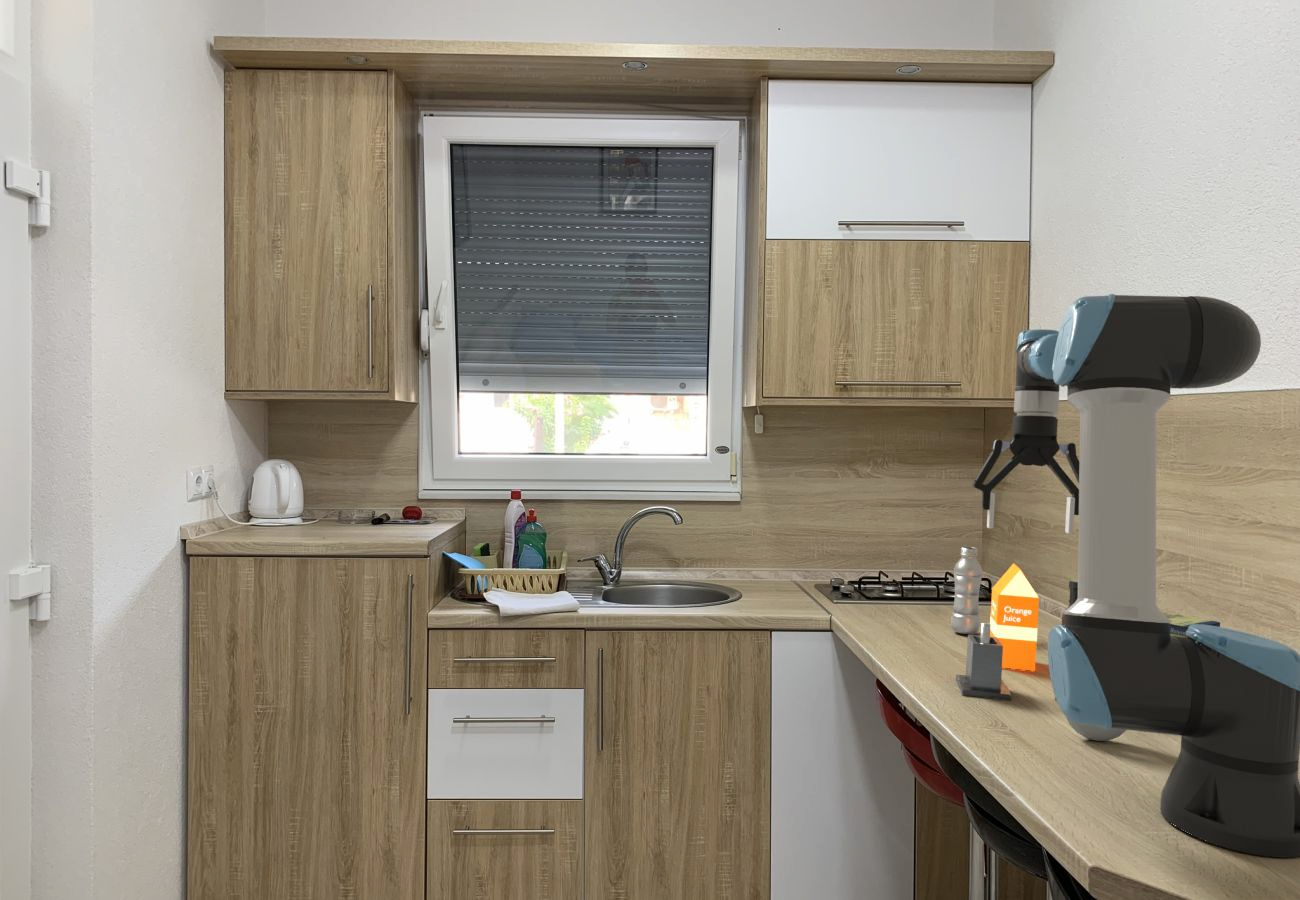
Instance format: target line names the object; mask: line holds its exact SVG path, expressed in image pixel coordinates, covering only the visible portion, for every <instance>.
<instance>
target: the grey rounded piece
mask: <svg viewBox="0 0 1300 900" xmlns="http://www.w3.org/2000/svg"><path fill="white" fill-rule="evenodd" d="M1065 718H1066V720H1067V722H1068V724H1069V726H1071V728H1072V729H1073V730H1074V731H1075V733H1077V734H1078V735H1081V736H1082V737H1084V738H1086V739H1088V740H1093V741H1096V742H1105V741H1107V742H1108V741H1111V740H1114V739H1116V738H1119V737H1120V736H1121V735H1123V734H1124V733H1125V732H1126V731H1127V730H1125V729H1116V728H1110V729H1103V728H1101V727H1098V726H1091V725H1085V724H1079V723H1075V722H1073V721H1071V720H1070V719H1068V718H1067V717H1066V716H1065Z"/></svg>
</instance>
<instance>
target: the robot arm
mask: <svg viewBox="0 0 1300 900" xmlns="http://www.w3.org/2000/svg"><path fill="white" fill-rule="evenodd" d="M1017 339H1018V340H1017V347H1016V348H1015V352H1016V364H1015V365H1016V367H1015V369H1016V370H1015V386H1014V387H1015V388H1014V400H1013V401H1014V402H1013V403H1014V404H1013V412H1014V414H1016V415H1015V416H1014V417H1013V418H1012V436H1011V439H1010V441H1003V440H1002V439H995V440H994V441H993V443H992V444H993V445H992V451H991V452H990V453H989V456H988V458H987V459H986V461H985V462H984V463H983V465H982V467H981V469H980V471H979V472H978V474H977V476H976V477H975V478H974V480H973V482H972V487H973V488H975V489H977V490H979V491H981V493H982V498H981V508H982V510H983V511H985V510H986V511H987V514H986V515H987V517H986V518H987V520H986V528H988V529H990V530H991V529H994V524H995V523H994V522H995V521H994V520H995V505H996V504H995V502H996V493H995V492H992V490H994V489H995V488H996V486H998V485H999V484H1000V483H1001V481H1003V479H1005V478H1006V477H1007V476H1008V475H1009V474H1010V472H1012V471H1013V470H1014V469H1015V468H1016V467H1017V466H1018V465H1019V464H1021V465H1022V466H1027V467H1029V466H1036V467H1044V466H1047V467H1048V468H1049V469H1050V470H1051V471H1052V473H1053V474H1054V475H1055V476H1056V477H1057V479H1058V480H1059V481H1060V483H1061V484H1062V485H1063V486H1064V487H1065V488H1066V490H1067V491H1068V493H1070V495H1071V496H1066V509H1065V523H1064V524H1065V526H1064V530H1065V531H1064V533H1066V534H1068V535H1069V534H1072V535H1073V534H1074V525H1075V523H1074V522H1075V516H1078V546H1077V547H1078V550H1077V554H1078V555H1077V580H1078V599H1077V600H1076V602H1075V603H1074V604H1073V605H1071V606H1070V607H1069V608H1068V607H1067V608H1068V609H1067V608H1066V609H1067V610H1066V609H1065V610H1064V612H1063V613H1064V625H1062V624H1058V625H1057V626H1053V627H1052V628H1050V630H1049V632H1048V643H1047V660H1048V661H1047V662H1048V670H1049V675H1050V682H1051V685H1052V690H1053V693H1054V698H1055V697H1056V700H1057V701H1056V702H1057V704H1058V707H1059V709H1060V710H1061V712H1062V713H1063V715H1064V716H1065V718H1066V717H1067V718H1068V719H1070V720H1071V721H1073V722H1075V723H1079V724H1085V725H1091V726H1098V727H1101V728H1103V729H1110V728H1116V729H1125V730H1126V731H1127V730H1128V731H1137V732H1145V733H1146V732H1147V733H1155V734H1163V735H1164V734H1165V735H1172V736H1173V735H1174V736H1180V737H1181V738H1180V739H1181V741H1180V751H1179V755H1178V757H1177V758H1176V761H1175V762H1174V765H1173V767H1172V768H1171V771H1170V773H1169V775H1168V777H1167V780H1166V782H1165V784H1164V786H1163V788H1162V790H1161V793H1160V807H1159V811H1160V810H1161V812H1160V814H1161V813H1162V814H1161V816H1162V815H1163V816H1164V817H1165V818H1166V819H1167V820H1168V821H1169V822H1171V823H1172V824H1174V825H1176V827H1178V828H1180V829H1182V830H1184V831H1186V832H1188V833H1190V834H1192V835H1194V836H1196V837H1198V838H1201V839H1203V840H1206V841H1208V842H1207V843H1209V842H1211V843H1210V844H1212V843H1213V844H1212V845H1215V844H1217V845H1216V846H1218V845H1219V846H1218V847H1221V846H1223V847H1222V848H1224V847H1225V849H1228V850H1233V851H1235V852H1240V851H1241V852H1242V853H1245V854H1250V855H1254V856H1262V855H1263V857H1271V856H1272V857H1271V858H1295V857H1300V778H1299V764H1300V763H1299V759H1300V654H1299V653H1298V652H1297V651H1296V650H1294V649H1293V648H1292V647H1289V646H1288V645H1286V644H1283V643H1280V642H1278V641H1275V640H1273V639H1272V640H1271V639H1269V638H1265V637H1264V636H1263V637H1262V636H1259V635H1255V634H1251V633H1248V632H1243V631H1239V630H1235V629H1230V628H1225V627H1222V626H1220V627H1217V626H1211V625H1204V624H1192V625H1190V626H1189V627H1188V630H1187V631H1186V635H1187V637H1176V636H1171V627H1170V620H1169V619H1168V618H1167V617H1166V616H1165V615H1164V614H1163V613H1162V612H1161V611H1162V610H1161V609H1160V608H1159V607H1158V606H1157V413H1158V411H1159V410H1160V409H1161V408H1162V407H1163V406H1164V405H1166V404H1167V403H1168V402H1169V401H1170V400H1171V389H1181V390H1182V389H1186V390H1187V389H1204V388H1211V387H1216V386H1220V385H1223V384H1226V383H1227V384H1228V383H1230V382H1232V381H1234V380H1236V379H1239V378H1240V377H1242V376H1243V375H1244V374H1245V373H1247V372H1248V371H1249V370H1250V369H1252V367H1253V366H1254V364H1255V363H1256V362H1257V360H1258V359H1257V358H1258V357H1259V354H1260V352H1261V346H1262V341H1261V340H1262V339H1261V333H1260V331H1259V328H1258V326H1257V324H1256V322H1255V320H1253V318H1252V316H1250V315H1249V314H1248V313H1247V312H1245V310H1243V309H1242V308H1240V307H1238V306H1237V305H1234V304H1232V303H1231V302H1227V301H1225V300H1222V299H1218V298H1216V297H1215V298H1214V297H1208V296H1201V295H1199V296H1198V295H1195V296H1193V295H1192V296H1191V295H1190V296H1179V295H1178V296H1176V295H1175V296H1173V295H1172V296H1171V295H1167V296H1166V295H1131V294H1129V295H1127V294H1126V295H1125V294H1124V295H1123V294H1122V295H1121V294H1114V293H1111V294H1110V293H1109V294H1107V295H1093V296H1092V295H1091V296H1087V295H1086V296H1082V297H1079V298H1078V299H1076V300H1074V301H1073V302H1071V304H1070V306H1069V307H1068V309H1067V310H1066V312H1065V314H1064V316H1063V320H1062V322H1061V325H1060V328H1059V331H1058V330H1056V329H1039V328H1038V329H1029V330H1023V331H1021V332H1020V333H1019V335H1018V338H1017ZM1060 386H1061V387H1063V388H1064V387H1067V394H1066V395H1067V397H1066V399H1067V402H1068V404H1070V405H1071V406H1072V407H1073V408H1074V409H1075V410H1076V411H1077V412H1078V413H1079V458H1078V456H1077V446H1076V444H1075V443H1073V442H1067V443H1061V444H1060V443H1058V439H1057V438H1058V427H1059V426H1058V423H1059V419H1058V418H1057V416H1056V415H1057V414H1058V413H1059V408H1060V407H1059V405H1060ZM1006 449H1009V450H1010V452H1011V453H1012V455H1013V456H1012V457H1010V458H1009V460H1008V461H1007V462H1006V463H1005V464H1004V465H1003V466H1002V467H1001V468H1000V469H999V470H998V471H997V472H996V473H994V475H993V476H992V477H991V478H990V479H989V481H987V482H986V483H985V480H986V479H987V477H988V476H989V474H990V473H991V470H992V469H993V467H994V465H995V464H996V463H997V461H998V459H999V457H1000V456H1001V453H1004V452H1006ZM1059 451H1060V452H1061V454H1062V455H1064V456H1066V459H1067V462H1068V463H1069V466H1070V468H1071V470H1072V472H1073V475H1074V476H1075V478H1076V481H1077V483H1078V487H1077V485H1076V484H1075V483H1074V481H1073V480H1072V479H1071V478H1070V477H1069V476H1068V474H1067V473H1066V472H1065V470H1064V469H1062V467H1061V466H1060V465H1059V462H1057V460H1056V459H1055V458H1054V457H1055V456H1056V454H1057V453H1058V452H1059ZM984 483H985V484H984ZM1067 718H1066V719H1067ZM1163 816H1162V817H1163ZM1164 817H1163V818H1164ZM1165 818H1164V819H1165ZM1166 819H1165V820H1166ZM1167 820H1166V821H1167ZM1168 821H1167V822H1168ZM1169 822H1168V823H1169ZM1172 824H1171V825H1172ZM1176 827H1175V828H1176ZM1178 828H1177V829H1178ZM1180 829H1179V830H1180ZM1194 836H1193V837H1194ZM1196 837H1195V838H1196ZM1198 838H1197V839H1198ZM1201 839H1200V840H1201ZM1203 840H1202V841H1203ZM1206 841H1205V842H1206Z"/></svg>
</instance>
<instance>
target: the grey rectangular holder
mask: <svg viewBox="0 0 1300 900" xmlns="http://www.w3.org/2000/svg"><path fill="white" fill-rule="evenodd" d="M980 636H981V635H976V634H968V635H967V644H966V645H967V647H966V665H965V675H966V679H967V682H968V684H969V686H970V688H974V689H984V690H993V691H1001V679H1002V675H1003V674H1002V672H1003V668H1002V658H1003V645H1002V644H1001V642H1000V641H999V640H998V638H997V637H990V644H986V643H980Z"/></svg>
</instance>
